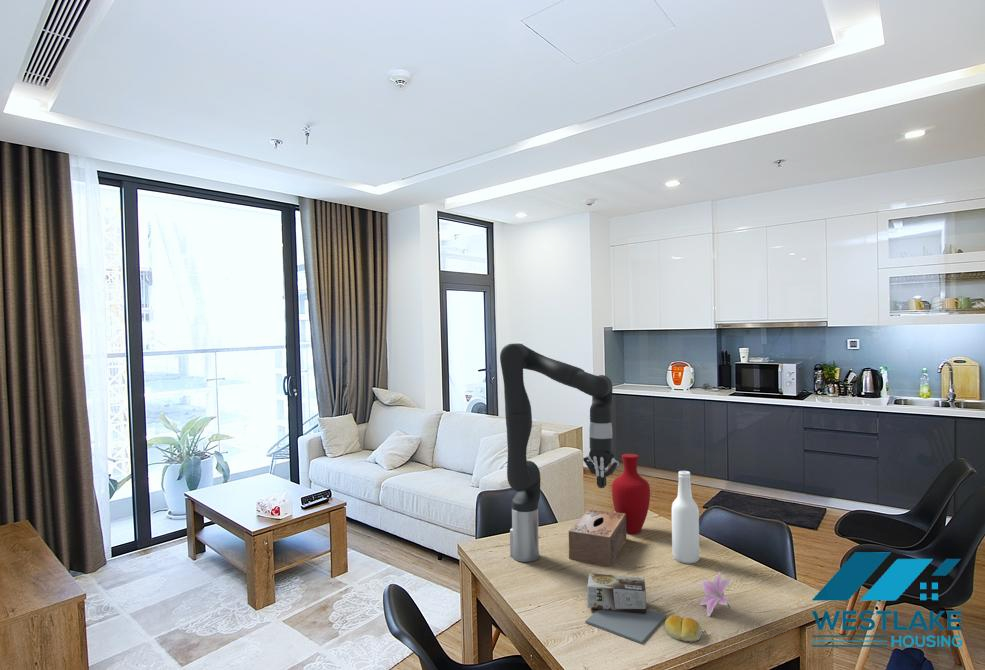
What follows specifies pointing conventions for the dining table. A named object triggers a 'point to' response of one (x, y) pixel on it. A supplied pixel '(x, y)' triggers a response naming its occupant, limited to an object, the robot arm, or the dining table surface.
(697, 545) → the alcohol
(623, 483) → the vase
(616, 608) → the coffee box
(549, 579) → the dining table surface
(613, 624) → the mat
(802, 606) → the dining table surface
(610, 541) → the tissue box cover
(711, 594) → the lily
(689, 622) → the bread roll
